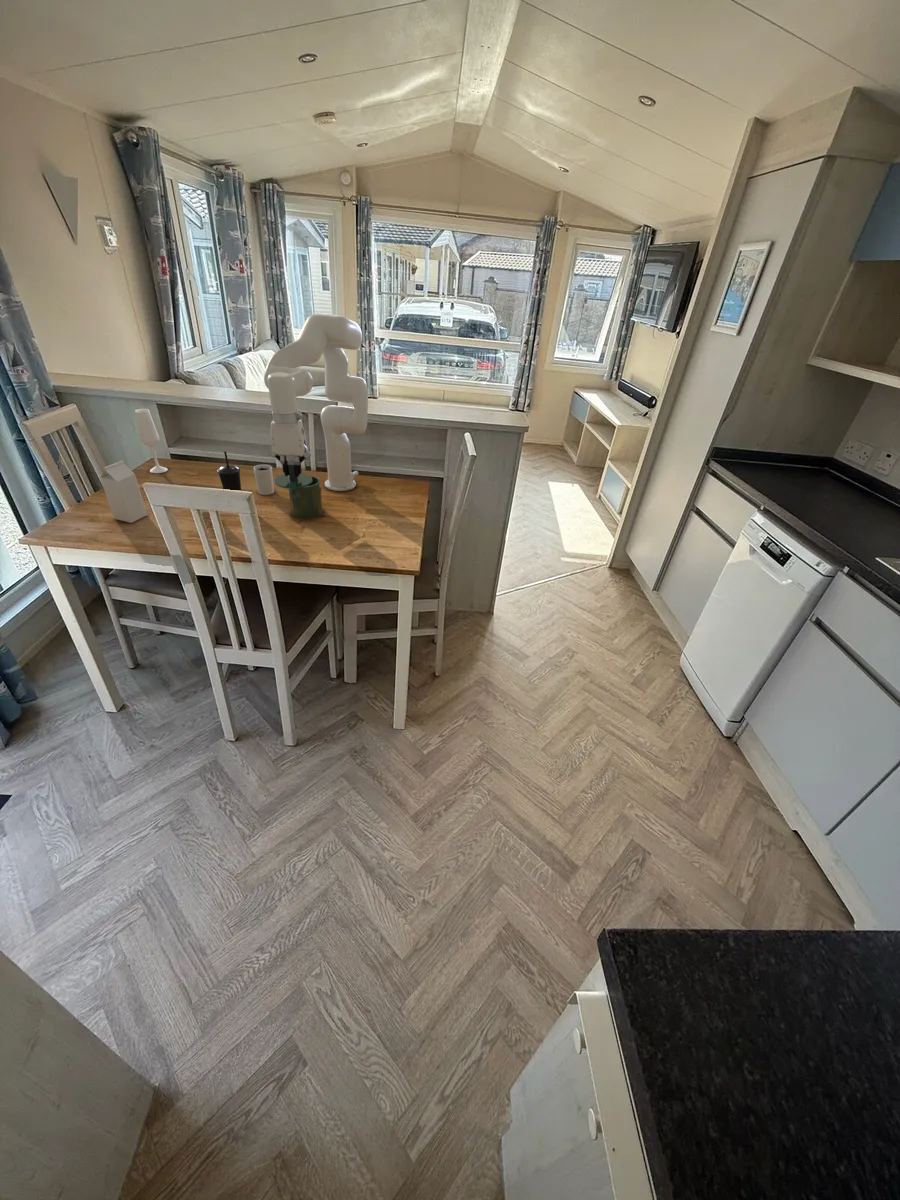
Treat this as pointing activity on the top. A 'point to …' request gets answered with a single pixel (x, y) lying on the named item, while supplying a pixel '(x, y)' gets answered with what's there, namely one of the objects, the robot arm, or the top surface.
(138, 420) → the champagne flute
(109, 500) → the milk carton
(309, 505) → the canister
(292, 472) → the lid
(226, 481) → the drinking cup
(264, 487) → the drinking glass
